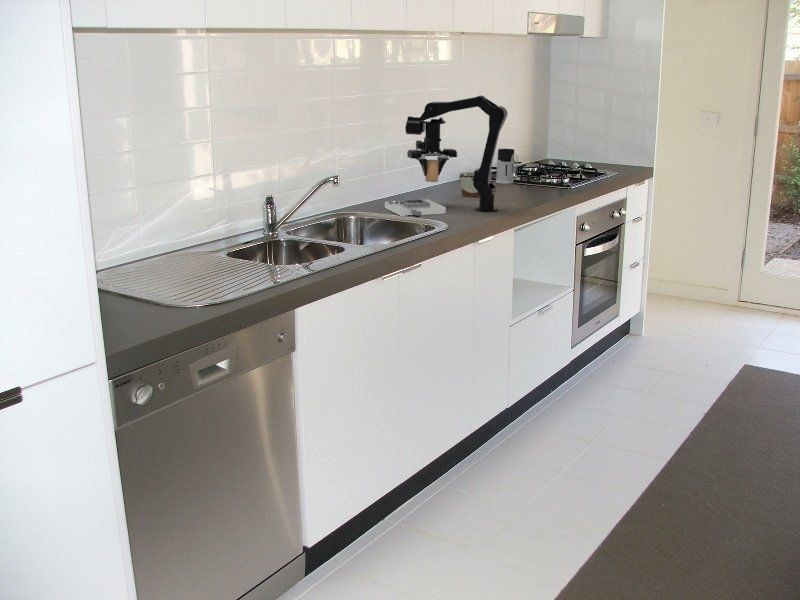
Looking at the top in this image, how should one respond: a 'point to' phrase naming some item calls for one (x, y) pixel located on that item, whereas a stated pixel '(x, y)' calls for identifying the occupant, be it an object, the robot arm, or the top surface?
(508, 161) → the grey jug
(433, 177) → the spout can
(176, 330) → the top surface
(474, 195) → the food container
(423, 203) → the gearbox housing
